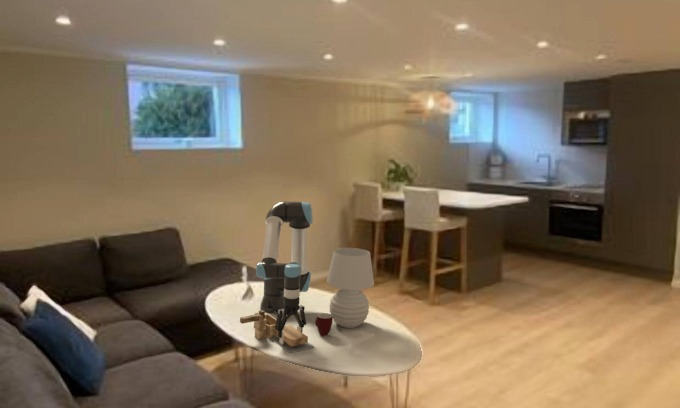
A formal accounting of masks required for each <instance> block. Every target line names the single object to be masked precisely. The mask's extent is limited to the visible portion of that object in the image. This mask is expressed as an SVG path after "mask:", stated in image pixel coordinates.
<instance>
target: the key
mask: <svg viewBox="0 0 680 408" xmlns="http://www.w3.org/2000/svg"><path fill="white" fill-rule="evenodd" d="M258 313H259V314H255V313H254V314H251V315H244V316H240V317H239V322H240V324H247V323H252V322H253V323H254V321H258V320H259V316H263V320H264V319H265V314H266V313H265V311H263V310H261V309H260V310H258Z"/></svg>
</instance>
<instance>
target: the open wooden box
mask: <svg viewBox="0 0 680 408" xmlns="http://www.w3.org/2000/svg"><path fill="white" fill-rule="evenodd" d="M255 314H259V312H254V315H255ZM276 320H277V318H275V317H273V316H272V315H271V314H269V313H265V319H264V320H263V316H259V320H258V321H253V328H254V338H256V339H257V340H262V339H266V338H268V339H269V338H271V337H276V335H274V328H275V324H276Z"/></svg>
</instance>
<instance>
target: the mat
mask: <svg viewBox="0 0 680 408" xmlns="http://www.w3.org/2000/svg"><path fill="white" fill-rule="evenodd" d="M270 339H271V340H272V341H273V342H275V343H276V344H277V345H278V346H280V347H282V348H283V349H285V350H286V351H287V352H288V353H290V354H294V353H297V352H301V351H305V350H309V349H313V348H315V345H313V344H312V343H310V342H308V343H304V344H300V345H296V346H292V347H291V346H290V345H288V344H287V343H286V342H284V344H283V345H282V344H281V343H279V340H280V338H278V337H277V336H275V337H270Z"/></svg>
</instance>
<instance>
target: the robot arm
mask: <svg viewBox="0 0 680 408" xmlns="http://www.w3.org/2000/svg"><path fill="white" fill-rule="evenodd" d="M313 219H314V217H313V206H312V204H311V203H310V202H305V201H284V200H283V201H279V202H276V203H275V204H273V206H272V207H271V208H270V209H269V211H268V212H267V214H266V216H265V223H264V224H265V225H266V229H265V236H264V242H263V243H264V244H263V250H262V256H261V257H262V258H261V262H260V261H259V262H257V263H256V266H255V267H256V268H255V275H256V277H257V278H262V279H263V295H262V299H261V302H260V305H259V306H260V308H259V309H260V310H263V311H265V312H266V313H277V317H276V319H277V320H276V324H275V330H277V331H278V337H280V340H279V343H281V344H282V345H283V344H284V331H283V328H284V326H286V323H287V322H288V319H289V318H290V317H293V316H294V318H295V320H296V322H297V324H298V325H297V327H296V329H297V330H298V331H300V332H301V333H304V332H303V328H304V327H305V326H306V325H307V319H306V313H305V308H306V307H305V306H304V305H302V304H300V296H301V293H305V292H308V291H309V288H310V284H311V278H312V277H311V276H312V272H311V271H310V269H309V268H308V267H307V251H308V249H307V248H308V247H307V244H308V229H309V228H310V227H311V225H312V224H313V222H314V220H313ZM284 223H288V227H289V228H290V229H291V243H290V244H291V246H290V247H291V249H290V251H291V252H290V253H291V254H290V258H291V260H290V263H279V262H278V254H279V248H280V247H279V246H280V239H281V237H280V236H281V231H282V229H281V228H282V227H283V225H284Z"/></svg>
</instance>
